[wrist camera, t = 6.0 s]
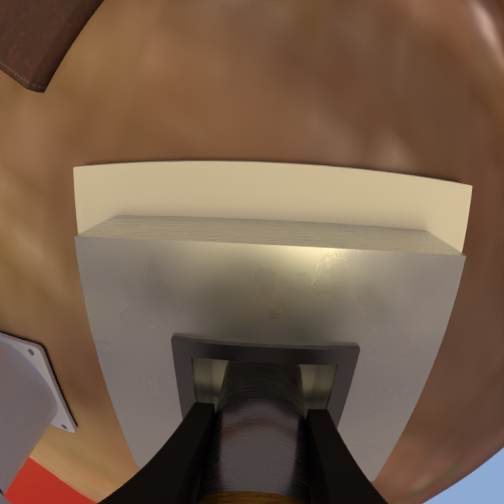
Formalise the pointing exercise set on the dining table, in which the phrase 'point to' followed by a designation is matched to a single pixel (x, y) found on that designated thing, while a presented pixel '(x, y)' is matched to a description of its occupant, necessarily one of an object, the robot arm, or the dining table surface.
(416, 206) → the stand base
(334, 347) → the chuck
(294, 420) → the orange topped can
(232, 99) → the dining table surface
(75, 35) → the notebook
